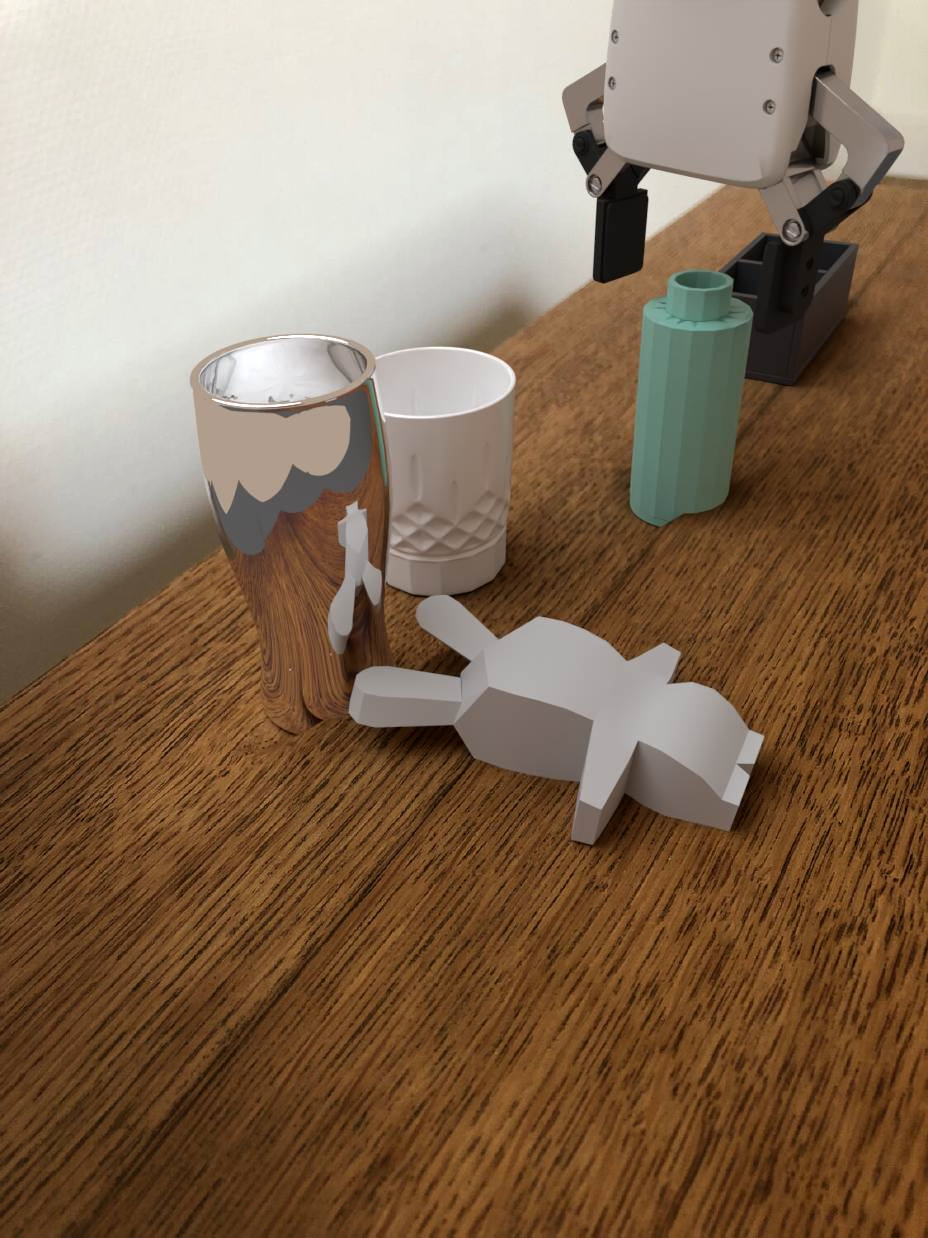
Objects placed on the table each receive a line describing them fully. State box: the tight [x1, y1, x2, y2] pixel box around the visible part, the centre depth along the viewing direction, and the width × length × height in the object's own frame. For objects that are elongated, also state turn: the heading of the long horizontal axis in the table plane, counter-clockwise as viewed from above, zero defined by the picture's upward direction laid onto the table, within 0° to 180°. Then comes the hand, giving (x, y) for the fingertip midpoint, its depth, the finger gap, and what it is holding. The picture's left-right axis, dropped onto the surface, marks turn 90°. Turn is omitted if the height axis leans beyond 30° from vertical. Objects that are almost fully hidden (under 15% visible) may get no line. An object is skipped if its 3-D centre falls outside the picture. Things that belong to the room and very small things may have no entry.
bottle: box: [629, 269, 753, 528], centre depth 53 cm, size 5×5×12 cm
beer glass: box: [189, 332, 399, 736], centre depth 40 cm, size 7×7×15 cm
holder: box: [717, 231, 860, 387], centre depth 73 cm, size 7×14×6 cm, turn 150°
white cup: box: [375, 346, 517, 597], centre depth 50 cm, size 8×8×10 cm
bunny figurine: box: [349, 595, 765, 846], centre depth 40 cm, size 10×5×15 cm
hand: (693, 299), depth 49 cm, fingers open, 9 cm apart
